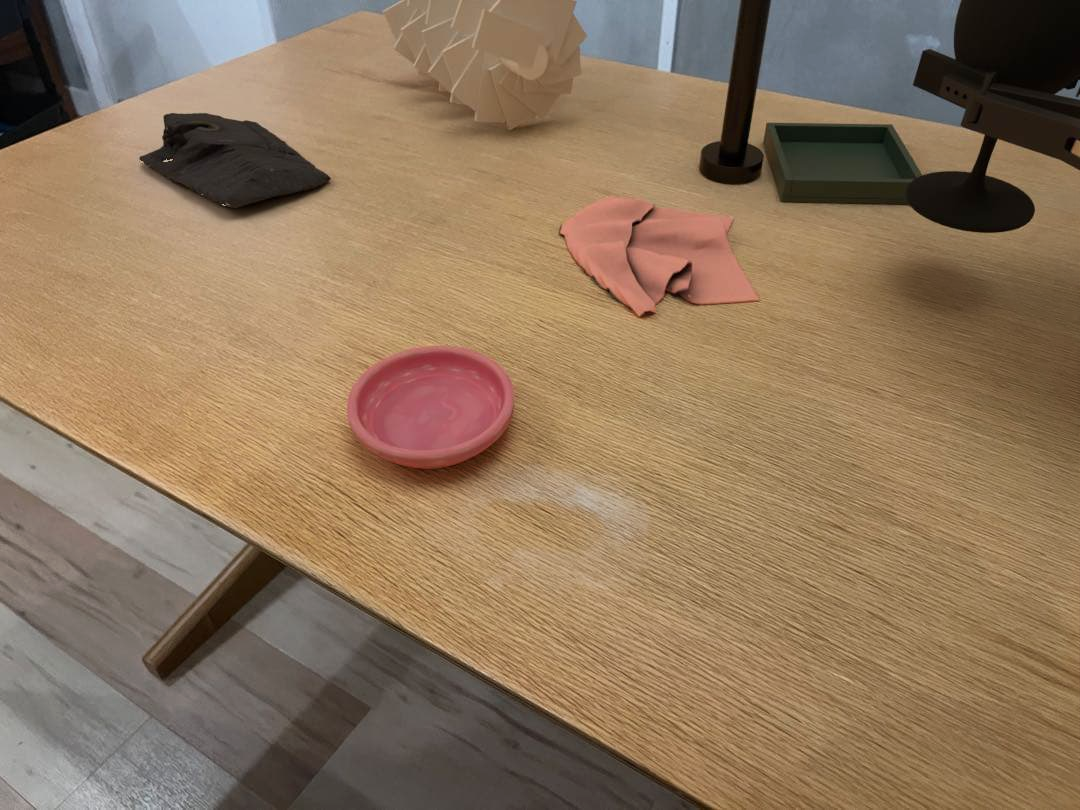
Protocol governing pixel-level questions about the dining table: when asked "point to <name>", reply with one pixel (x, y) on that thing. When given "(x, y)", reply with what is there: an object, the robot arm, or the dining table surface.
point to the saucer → (431, 406)
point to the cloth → (656, 253)
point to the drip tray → (839, 163)
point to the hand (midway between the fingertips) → (966, 56)
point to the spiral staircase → (492, 52)
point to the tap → (740, 103)
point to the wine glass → (1021, 61)
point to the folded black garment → (230, 160)
